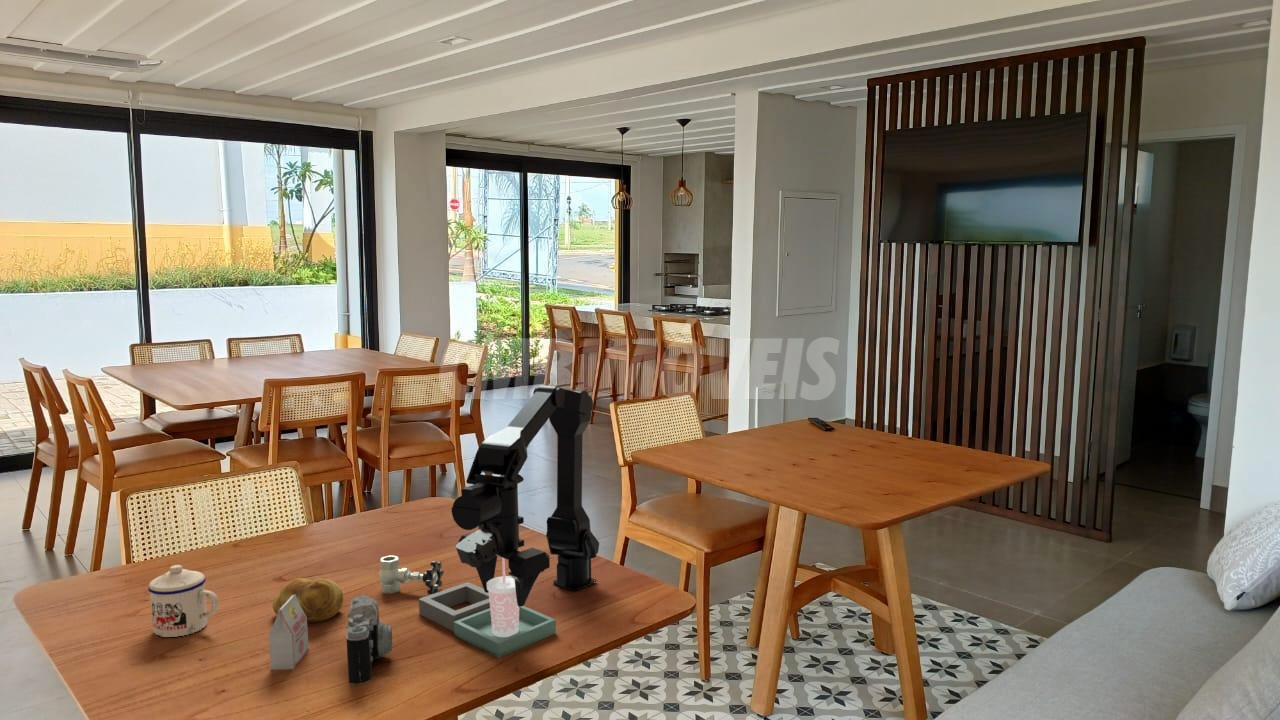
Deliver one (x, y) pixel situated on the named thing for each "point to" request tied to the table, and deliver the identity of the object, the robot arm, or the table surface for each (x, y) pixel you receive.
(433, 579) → the valve
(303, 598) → the bread roll
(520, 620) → the tray
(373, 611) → the camera
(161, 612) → the teacup with lid
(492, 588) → the beverage cup
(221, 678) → the table surface
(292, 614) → the milk carton
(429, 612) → the holder block
